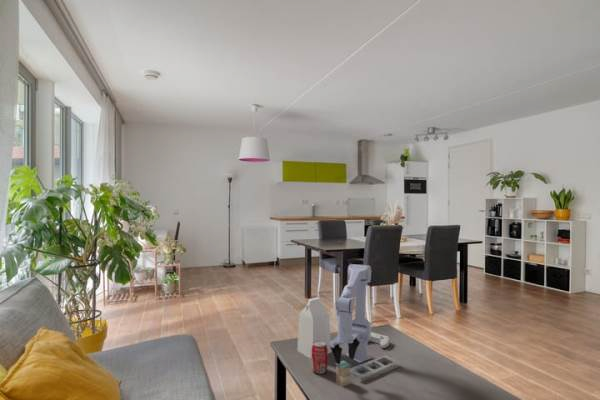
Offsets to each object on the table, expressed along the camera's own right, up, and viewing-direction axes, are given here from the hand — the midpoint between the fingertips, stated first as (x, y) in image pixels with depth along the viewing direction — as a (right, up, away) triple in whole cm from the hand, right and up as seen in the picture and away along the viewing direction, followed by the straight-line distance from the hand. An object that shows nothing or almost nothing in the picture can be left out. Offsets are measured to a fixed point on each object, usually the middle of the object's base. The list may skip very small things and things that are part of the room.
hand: (344, 360), depth 139 cm
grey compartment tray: (+14, -9, +11) cm, 20 cm away
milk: (-11, -9, +28) cm, 32 cm away
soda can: (-10, -10, +10) cm, 17 cm away
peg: (-1, -9, 0) cm, 10 cm away
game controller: (+21, -10, +38) cm, 45 cm away
